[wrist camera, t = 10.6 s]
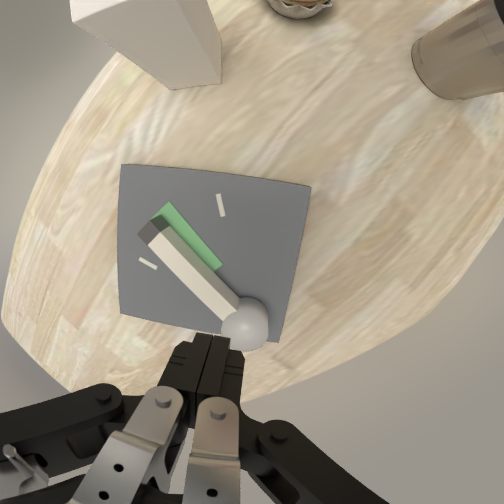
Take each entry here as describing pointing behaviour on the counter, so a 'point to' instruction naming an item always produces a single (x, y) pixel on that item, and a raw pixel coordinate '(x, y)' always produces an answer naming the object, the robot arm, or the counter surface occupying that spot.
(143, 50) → the milk
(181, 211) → the board
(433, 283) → the counter surface
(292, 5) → the cupcake
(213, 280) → the tuning lever
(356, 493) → the robot arm
